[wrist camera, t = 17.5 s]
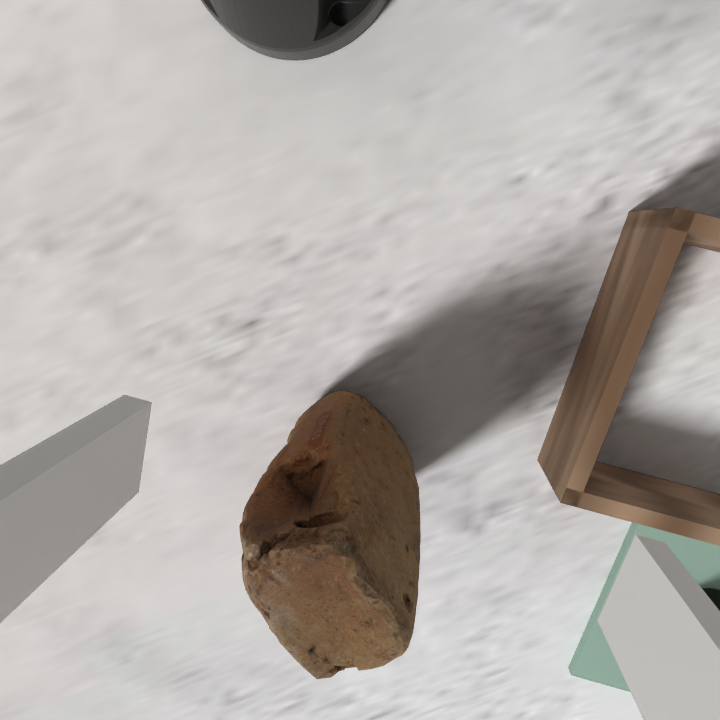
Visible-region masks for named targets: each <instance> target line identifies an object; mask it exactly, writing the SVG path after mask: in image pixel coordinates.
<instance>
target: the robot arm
mask: <svg viewBox="0 0 720 720" xmlns="http://www.w3.org/2000/svg"><path fill="white" fill-rule="evenodd" d="M201 1H202V3H203V4H204V6H205V7H206V8H207V10H208V11H209V12H210V13H211V15H212V16H213V17H214V18H215V19H216V20H217V21H218V22H219V23H220V24H221V25H222V26H223V27H224V29H225V30H226V31H227V32H228V33H230V34H231V35H232V36H233V37H234V38H235V39H237V40H238V41H239V42H241V43H242V44H244V45H245V46H247V47H248V48H250V49H252V50H254V51H256V52H258V53H261V54H263V55H266V56H269V57H273V58H277V59H283V60H307V59H313V58H318V57H321V56H324V55H327V54H330V53H332V52H335V51H337V50H339V49H341V48H342V47H344V46H346V45H347V44H349V43H350V42H352V41H353V40H354V39H356V38H357V37H358V36H359V35H361V34H362V33H363V32H364V31H365V30H366V29H367V28H368V27H369V26H370V25H371V23H372V22H373V21H374V20H375V19H376V17H377V16H378V15H379V13H380V12H381V10H382V9H383V7H384V6H385V4H386V2H387V1H388V0H201ZM151 404H152V402H149V401H145V400H142V399H138V398H134V397H131V396H127V395H123V396H122V397H120V398H118V399H116V400H115V401H113V402H111V403H109V404H108V405H106V406H104V407H102V408H100V409H99V410H97V411H95V412H93V413H92V414H90V415H88V416H86V417H85V418H83V419H81V420H79V421H78V422H76V423H74V424H72V425H71V426H69V427H67V428H65V429H63V430H62V431H60V432H58V433H56V434H55V435H53V436H51V437H49V438H48V439H46V440H44V441H42V442H41V443H39V444H37V445H35V446H33V447H32V448H30V449H28V450H26V451H25V452H23V453H21V454H19V455H18V456H16V457H14V458H12V459H11V460H9V461H7V462H5V463H4V464H2V465H0V623H1V622H2V621H3V620H4V619H5V618H6V617H7V616H8V615H9V614H10V613H11V612H12V611H13V610H14V609H16V608H17V607H18V606H19V605H20V604H21V603H22V602H23V601H24V600H25V599H26V598H27V597H28V596H29V595H30V594H31V593H32V592H33V591H35V590H36V589H37V588H38V587H39V586H40V585H41V584H42V583H43V582H44V581H45V580H46V579H47V578H48V577H49V576H50V575H51V574H52V573H54V572H55V571H56V570H57V569H58V568H59V567H60V566H61V565H62V564H63V563H64V562H65V561H66V560H67V559H68V558H69V557H70V556H71V555H73V554H74V553H75V552H76V551H77V550H78V549H79V548H80V547H81V546H82V545H83V544H84V543H85V542H86V541H87V540H88V539H89V538H90V537H92V536H93V535H94V534H95V533H96V532H97V531H98V530H99V529H100V528H101V527H102V526H103V525H104V524H105V523H106V522H107V521H108V520H109V519H111V518H112V517H113V516H114V515H115V514H116V513H117V512H118V511H119V510H120V509H121V508H122V507H123V506H124V505H125V504H126V503H127V502H128V501H130V500H131V499H132V498H133V497H134V496H135V495H136V494H137V493H138V492H139V486H140V479H141V472H142V465H143V458H144V451H145V445H146V438H147V431H148V424H149V417H150V411H151ZM597 621H598V623H599V625H600V627H601V629H602V632H603V634H604V636H605V638H606V640H607V642H608V644H609V647H610V649H611V651H612V653H613V655H614V657H615V659H616V661H617V664H618V666H619V668H620V670H621V672H622V674H623V676H624V679H625V681H626V683H627V685H628V687H629V689H630V691H631V694H632V696H633V698H634V700H635V702H636V704H637V706H638V709H639V711H640V713H641V715H642V717H643V719H644V720H720V611H719V609H718V608H717V607H716V606H715V604H714V603H713V602H712V601H711V599H710V598H709V597H708V596H707V594H706V593H705V592H704V591H703V589H702V588H701V587H700V586H699V584H698V583H697V582H696V581H695V579H694V578H693V577H692V576H691V574H690V573H689V572H688V571H687V569H686V568H685V567H684V566H683V564H682V563H681V562H680V561H679V559H678V558H677V557H676V556H675V554H674V553H673V552H672V551H671V549H670V548H669V547H668V546H667V544H666V543H665V542H661V541H658V540H654V539H650V538H647V537H643V536H639V535H635V537H634V539H633V541H632V544H631V546H630V548H629V550H628V553H627V555H626V557H625V559H624V562H623V564H622V566H621V568H620V571H619V573H618V575H617V577H616V580H615V582H614V584H613V586H612V589H611V591H610V593H609V596H608V598H607V600H606V602H605V605H604V607H603V609H602V611H601V614H600V616H599V618H598V620H597Z"/></svg>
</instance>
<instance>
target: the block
mask: <svg viewBox="0 0 720 720" xmlns="http://www.w3.org/2000/svg"><path fill="white" fill-rule="evenodd" d="M287 442H288V444H287V445H286V446H285V447H284V448H283V449H282V450H281V451H280V452H279V453H278V454H277V456H276V457H275V458H274V459H273V460H272V462H271V463H270V465H269V466H268V468H267V471H266V472H265V473H264V474H263V475H262V477H261V479H260V480H259V482H258V484H257V486H256V488H255V490H254V492H253V494H252V495H251V497H250V499H249V500H248V502H247V504H246V506H245V509H244V512H243V519H242V522H241V524H240V537H241V543H242V548H243V555H242V574H243V581H244V585H245V589H246V591H247V593H248V595H249V597H250V599H251V601H252V602H253V604H254V605H255V606H256V608H257V609H258V610H259V611H260V613H261V614H262V615H263V617H264V619H265V620H266V622H267V623H268V625H269V628H270V630H271V631H272V632H273V633H274V634H275V635H276V636H277V638H278V640H279V642H280V643H281V644H282V645H283V646H284V648H285V649H286V650H287V651H288V652H289V653H290V654H291V655H292V656H293V657H294V659H295V660H296V661H297V662H298V663H300V664H301V665H302V666H303V667H304V668H305V669H306V670H307V671H308V672H309V673H311V674H312V675H313V676H314V677H315V678H316V679H321V678H329V677H332V676H333V675H335V674H336V673H337V672H338V671H341V670H344V669H345V668H351V667H357V668H358V670H367V669H373V668H376V667H380V666H384V665H385V664H387V663H389V662H390V661H392V660H393V659H395V658H397V657H399V656H401V655H402V654H403V653H404V652H405V651H406V650H407V648H408V646H409V643H410V640H411V637H412V634H413V629H414V622H415V614H416V605H417V598H418V580H419V563H420V501H419V487H418V483H417V480H416V476H415V473H414V470H413V463H412V459H411V457H410V455H409V453H408V451H407V449H406V447H405V445H404V443H403V441H402V439H401V438H400V437H399V435H398V434H397V432H396V430H395V428H394V427H393V426H392V425H391V424H390V423H389V421H388V420H387V419H386V417H384V416H382V415H381V414H380V412H379V411H378V410H377V409H376V408H375V407H374V406H373V405H372V404H371V403H369V402H368V401H367V400H366V399H364V398H362V397H359V396H357V395H356V394H354V393H352V392H347V391H337V392H333V393H330V394H329V395H327V396H325V397H324V398H322V399H320V400H319V401H318V402H316V403H315V404H314V405H312V406H311V407H310V408H309V409H308V410H306V411H305V412H304V413H303V414H302V416H301V417H300V418H299V419H298V421H297V422H296V425H295V428H294V429H292V431H291V432H290V434H289V437H288V440H287Z"/></svg>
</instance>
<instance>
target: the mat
mask: <svg viewBox="0 0 720 720" xmlns="http://www.w3.org/2000/svg"><path fill="white" fill-rule="evenodd" d="M635 535H639V536H643V537H647V538H650V539H654V540H658V541H661V542H665V543H666V544H667V546H668V547H669V548H670V549H671V551H672V552H673V553H674V554H675V556H676V557H677V558H678V559H679V561H680V562H681V563H682V564H683V566H684V567H685V568H686V569H687V571H688V572H689V573H690V574H691V576H692V577H693V578H694V579H695V581H696V582H697V583H698V584H699V586H700V587H701V588H713V589H718V590H720V546H718V545H714V544H711V543H707V542H703V541H700V540H696V539H692V538H689V537H685V536H681V535H678V534H674V533H670V532H666V531H663V530H659V529H655V528H652V527H648V526H644V525H641V524H637V523H633V522H632V524H631V526H630V529H629V531H628V533H627V536H626V538H625V540H624V542H623V545H622V547H621V549H620V552H619V554H618V556H617V558H616V561H615V563H614V565H613V567H612V570H611V572H610V574H609V577H608V579H607V581H606V583H605V586H604V588H603V590H602V593H601V595H600V597H599V599H598V602H597V604H596V606H595V609H594V611H593V613H592V615H591V618H590V620H589V622H588V624H587V627H586V629H585V631H584V634H583V636H582V638H581V640H580V643H579V645H578V647H577V650H576V652H575V654H574V656H573V659H572V661H571V663H570V665H569V671H570V673H571V675H573V676H576V677H580V678H583V679H587V680H590V681H594V682H597V683H601V684H604V685H608V686H611V687H615V688H618V689H622V690H625V691H629V692H631V691H630V689H629V687H628V685H627V683H626V681H625V679H624V676H623V674H622V672H621V670H620V668H619V666H618V664H617V661H616V659H615V657H614V655H613V653H612V651H611V649H610V647H609V644H608V642H607V640H606V638H605V636H604V634H603V632H602V629H601V627H600V625H599V623H598V621H597V620H598V618H599V616H600V614H601V611H602V609H603V607H604V605H605V602H606V600H607V598H608V596H609V593H610V591H611V589H612V586H613V584H614V582H615V580H616V577H617V575H618V573H619V571H620V568H621V566H622V564H623V562H624V559H625V557H626V555H627V553H628V550H629V548H630V546H631V544H632V541H633V539H634V537H635Z"/></svg>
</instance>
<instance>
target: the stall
mask: <svg viewBox="0 0 720 720" xmlns="http://www.w3.org/2000/svg"><path fill="white" fill-rule="evenodd" d="M683 243H684V244H688V245H692V246H696V247H700V248H704V249H708V250H712V251H716V252H720V218H716V217H712V216H708V215H704V214H700V213H696V212H692V211H688V210H684V209H680V208H665V209H654V210H642V211H631V212H629V213H628V216H627V219H626V222H625V224H624V227H623V230H622V232H621V235H620V238H619V241H618V243H617V246H616V249H615V251H614V254H613V257H612V259H611V262H610V265H609V268H608V270H607V273H606V276H605V278H604V281H603V284H602V287H601V289H600V292H599V295H598V297H597V300H596V303H595V305H594V308H593V311H592V314H591V316H590V319H589V322H588V324H587V327H586V330H585V333H584V335H583V338H582V341H581V343H580V346H579V349H578V351H577V354H576V357H575V360H574V362H573V365H572V368H571V370H570V373H569V376H568V379H567V381H566V384H565V387H564V389H563V392H562V395H561V397H560V400H559V403H558V406H557V408H556V411H555V414H554V416H553V419H552V422H551V425H550V427H549V430H548V433H547V435H546V438H545V441H544V443H543V446H542V449H541V452H540V454H539V457H538V462H539V464H540V466H541V467H542V469H543V471H544V473H545V475H546V477H547V479H548V480H549V482H550V484H551V486H552V488H553V490H554V492H555V494H556V495H557V497H558V499H559V501H560V503H564V504H567V505H571V506H575V507H578V508H582V509H586V510H589V511H593V512H597V513H600V514H604V515H608V516H611V517H615V518H619V519H622V520H626V521H630V522H633V523H637V524H641V525H644V526H648V527H652V528H655V529H659V530H663V531H666V532H670V533H674V534H678V535H681V536H685V537H689V538H692V539H696V540H700V541H703V542H707V543H711V544H714V545H718V546H720V495H719V494H716V493H712V492H708V491H704V490H701V489H697V488H693V487H690V486H686V485H682V484H678V483H675V482H671V481H667V480H663V479H660V478H656V477H652V476H649V475H645V474H641V473H637V472H634V471H630V470H626V469H623V468H619V467H615V466H611V465H608V464H604V463H600V462H596V459H597V457H598V454H599V452H600V449H601V447H602V444H603V442H604V439H605V437H606V434H607V432H608V429H609V427H610V424H611V422H612V419H613V417H614V414H615V412H616V409H617V407H618V404H619V402H620V399H621V397H622V394H623V392H624V390H625V387H626V385H627V382H628V380H629V377H630V375H631V372H632V370H633V367H634V365H635V362H636V360H637V357H638V355H639V352H640V350H641V347H642V345H643V342H644V340H645V337H646V335H647V332H648V330H649V327H650V325H651V322H652V320H653V318H654V315H655V313H656V310H657V308H658V305H659V303H660V300H661V298H662V295H663V293H664V290H665V288H666V285H667V283H668V280H669V278H670V275H671V273H672V270H673V268H674V265H675V263H676V260H677V258H678V255H679V253H680V250H681V248H682V246H683Z"/></svg>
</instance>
